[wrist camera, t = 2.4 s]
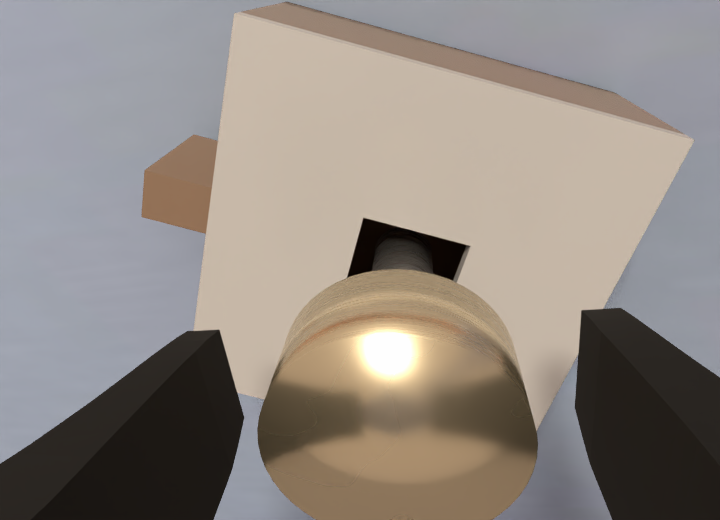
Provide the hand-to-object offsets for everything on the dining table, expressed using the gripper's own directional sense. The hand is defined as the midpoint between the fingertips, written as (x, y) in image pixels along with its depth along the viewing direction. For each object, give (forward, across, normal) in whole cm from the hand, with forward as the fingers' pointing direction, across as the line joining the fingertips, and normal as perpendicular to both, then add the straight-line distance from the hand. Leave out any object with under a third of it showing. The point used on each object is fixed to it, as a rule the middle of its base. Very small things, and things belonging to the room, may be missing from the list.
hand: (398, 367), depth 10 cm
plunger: (+4, 0, 0) cm, 4 cm away
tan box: (+8, 0, 0) cm, 8 cm away
